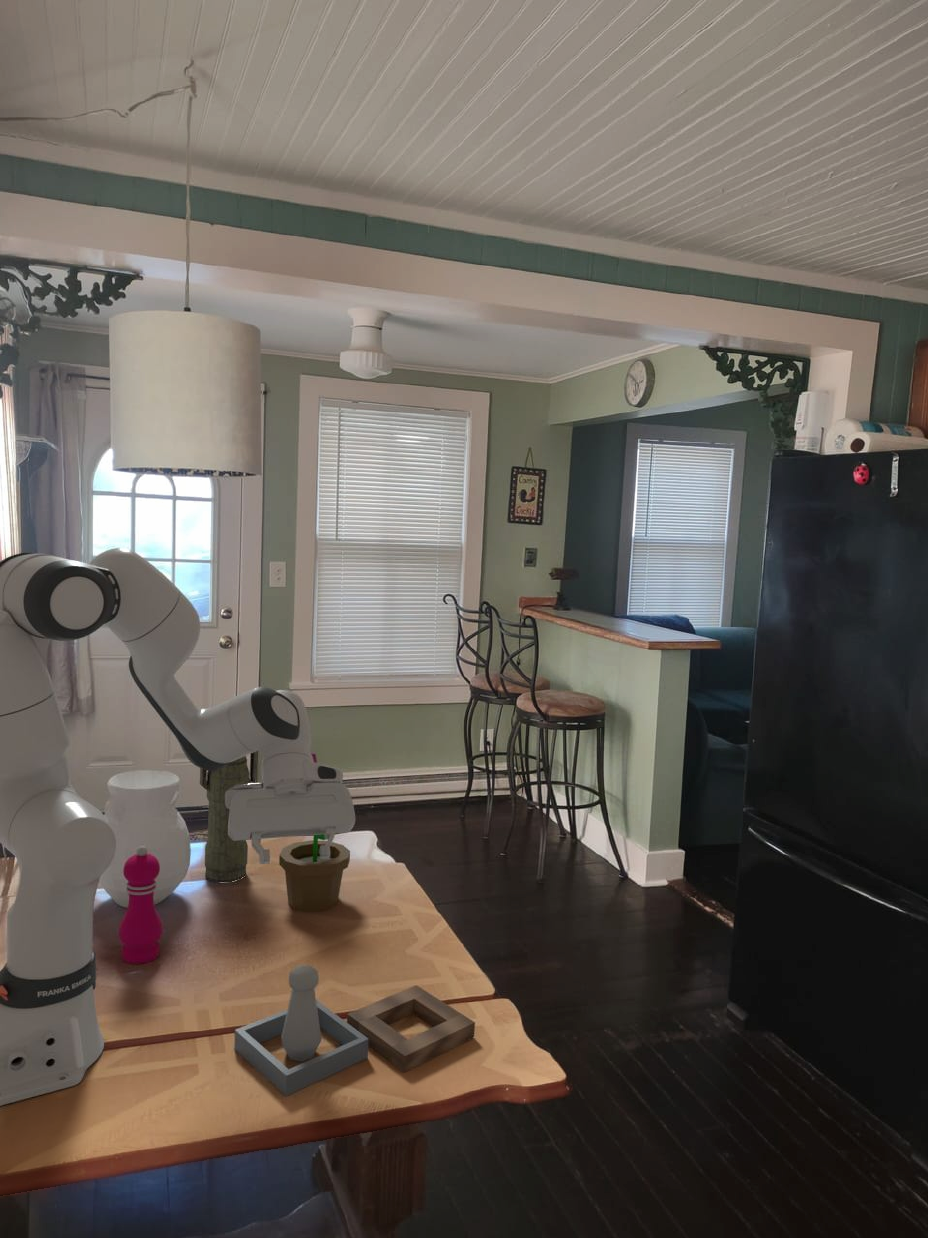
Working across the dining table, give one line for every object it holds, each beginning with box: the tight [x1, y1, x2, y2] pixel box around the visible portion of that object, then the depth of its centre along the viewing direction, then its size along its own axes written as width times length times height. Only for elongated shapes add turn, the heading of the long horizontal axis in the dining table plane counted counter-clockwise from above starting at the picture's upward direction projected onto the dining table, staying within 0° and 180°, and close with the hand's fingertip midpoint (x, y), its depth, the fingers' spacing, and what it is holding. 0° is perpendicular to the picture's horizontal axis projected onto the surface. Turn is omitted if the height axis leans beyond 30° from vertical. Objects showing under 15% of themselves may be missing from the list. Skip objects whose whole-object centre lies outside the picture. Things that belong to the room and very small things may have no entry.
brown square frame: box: [346, 984, 476, 1073], centre depth 138 cm, size 14×14×2 cm
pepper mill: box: [118, 846, 163, 965], centre depth 157 cm, size 7×7×20 cm
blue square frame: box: [233, 999, 369, 1097], centre depth 132 cm, size 14×14×3 cm
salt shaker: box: [280, 964, 322, 1063], centre depth 131 cm, size 6×6×13 cm
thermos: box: [199, 751, 258, 884], centre depth 192 cm, size 9×12×35 cm
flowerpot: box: [278, 753, 351, 912], centre depth 182 cm, size 14×14×30 cm
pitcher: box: [98, 769, 192, 909], centre depth 179 cm, size 19×18×25 cm
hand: (295, 860), depth 141 cm, fingers open, 8 cm apart
